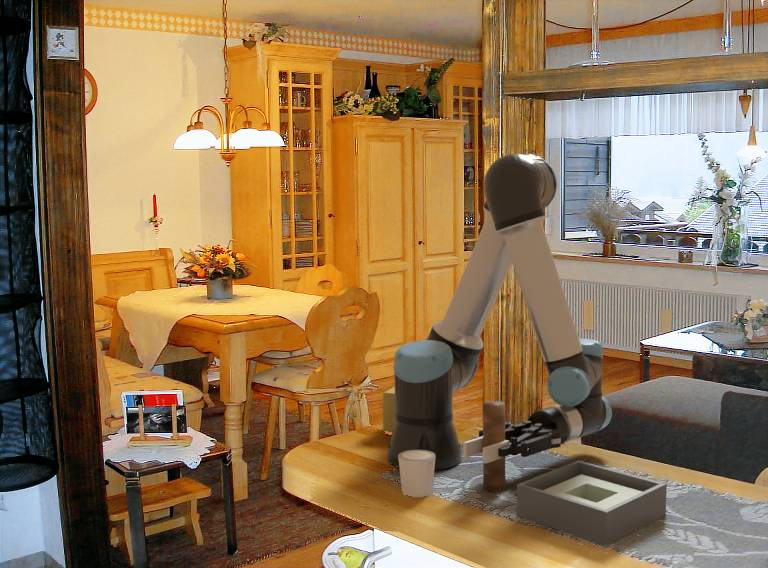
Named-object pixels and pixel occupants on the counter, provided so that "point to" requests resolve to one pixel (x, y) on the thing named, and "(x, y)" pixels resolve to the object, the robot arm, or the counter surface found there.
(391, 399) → the cheese
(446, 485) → the counter surface
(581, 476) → the open box
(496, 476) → the peg
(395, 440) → the robot arm
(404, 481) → the white cup
